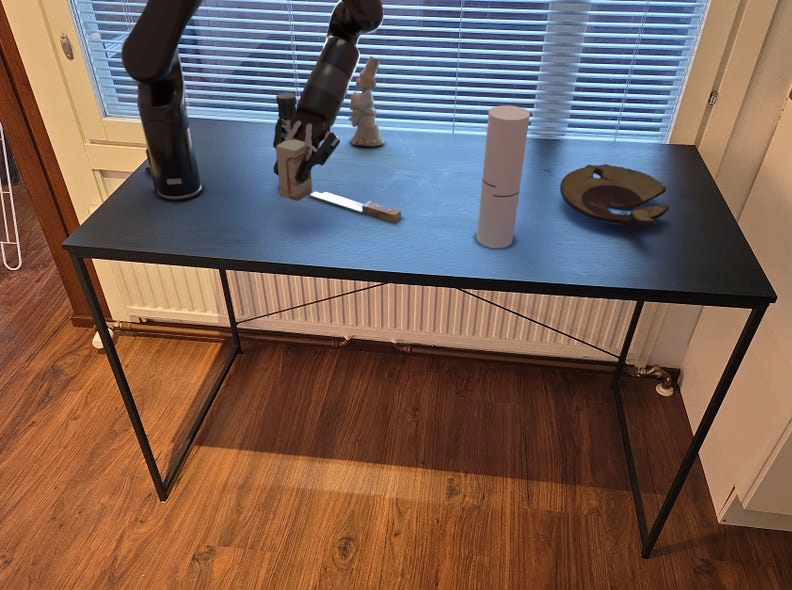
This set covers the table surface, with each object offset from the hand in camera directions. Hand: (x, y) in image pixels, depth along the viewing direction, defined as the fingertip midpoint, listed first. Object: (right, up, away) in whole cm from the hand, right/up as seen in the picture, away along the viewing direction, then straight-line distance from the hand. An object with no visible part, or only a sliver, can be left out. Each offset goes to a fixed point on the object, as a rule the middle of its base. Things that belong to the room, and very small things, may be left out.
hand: (288, 177), depth 125 cm
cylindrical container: (+40, -10, +8) cm, 42 cm away
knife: (+11, -2, +17) cm, 20 cm away
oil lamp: (+65, -4, +15) cm, 67 cm away
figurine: (+12, +21, +44) cm, 51 cm away
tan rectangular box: (+1, -2, +4) cm, 5 cm away
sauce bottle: (-3, +5, +24) cm, 25 cm away
